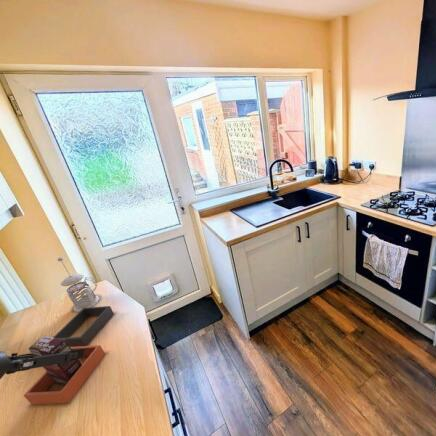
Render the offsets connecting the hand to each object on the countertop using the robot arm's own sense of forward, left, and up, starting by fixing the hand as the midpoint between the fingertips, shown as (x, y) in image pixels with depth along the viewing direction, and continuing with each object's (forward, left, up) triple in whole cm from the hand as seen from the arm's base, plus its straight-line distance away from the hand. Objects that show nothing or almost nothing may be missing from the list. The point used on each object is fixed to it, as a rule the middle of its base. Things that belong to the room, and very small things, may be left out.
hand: (62, 354), depth 77 cm
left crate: (0, -1, -9) cm, 9 cm away
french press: (-22, +34, -9) cm, 41 cm away
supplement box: (0, -2, -9) cm, 9 cm away
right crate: (-10, +18, -9) cm, 22 cm away
